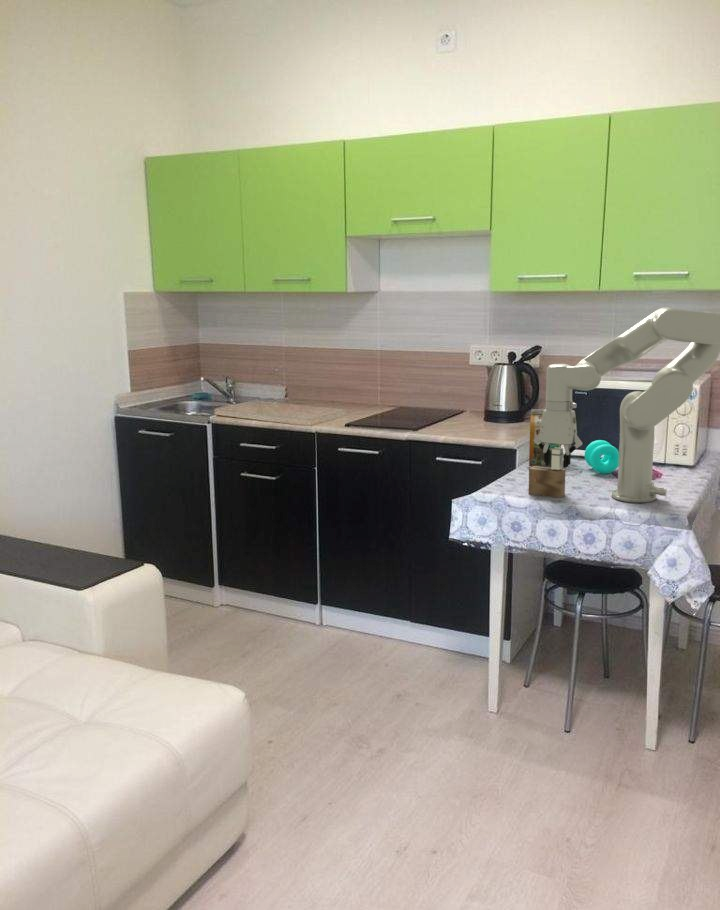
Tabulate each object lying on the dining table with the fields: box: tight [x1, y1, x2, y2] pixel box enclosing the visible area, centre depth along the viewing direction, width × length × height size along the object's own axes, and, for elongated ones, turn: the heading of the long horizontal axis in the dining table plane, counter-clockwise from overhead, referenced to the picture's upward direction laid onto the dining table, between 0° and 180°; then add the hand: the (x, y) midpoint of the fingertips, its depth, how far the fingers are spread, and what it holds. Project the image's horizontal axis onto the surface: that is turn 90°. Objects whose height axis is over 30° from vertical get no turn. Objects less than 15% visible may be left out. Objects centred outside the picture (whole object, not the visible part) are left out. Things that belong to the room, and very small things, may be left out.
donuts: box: [584, 439, 619, 475], centre depth 268 cm, size 10×10×10 cm
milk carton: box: [528, 409, 562, 467], centre depth 281 cm, size 11×11×19 cm
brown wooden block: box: [528, 466, 566, 499], centre depth 242 cm, size 10×4×8 cm, turn 58°
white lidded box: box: [550, 447, 564, 470], centre depth 238 cm, size 2×3×6 cm
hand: (557, 465), depth 239 cm, fingers open, 4 cm apart
